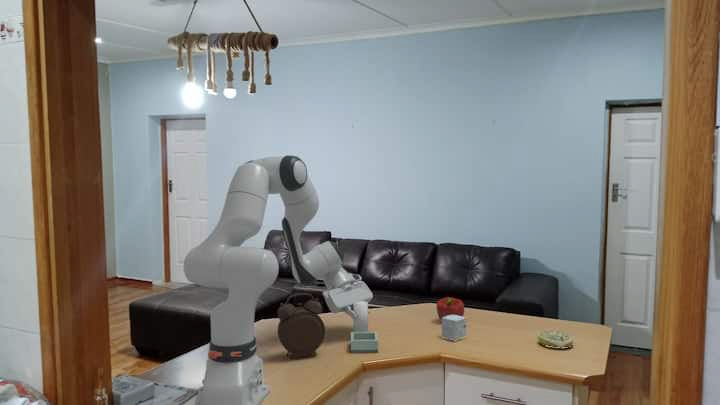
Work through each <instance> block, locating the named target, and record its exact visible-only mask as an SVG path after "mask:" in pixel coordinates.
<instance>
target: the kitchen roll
mask: <svg viewBox="0 0 720 405" xmlns="http://www.w3.org/2000/svg"><path fill="white" fill-rule="evenodd" d="M368 310H369V302H365V301H359V302H356V303H353V308H352V311H353V312H354V313H355V312H356V313H357V315H358V318H357V319H355V320H353V319H352V320H353V322H352V323H353V329H352V330H353V332H369V314H368Z"/></svg>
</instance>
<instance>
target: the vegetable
mask: <svg viewBox="0 0 720 405" xmlns="http://www.w3.org/2000/svg"><path fill="white" fill-rule="evenodd" d="M436 313H437V316H438V319H439V320H440V321H441V322H442V317H445V316H448V315H452V314H454V315H458V316H462V317H464V315H465V305H464V302H463V301H462V300H460V299H459V298H455V297H450V296H446V297H444V298H440V299H439V300H438V301H437V303H436Z"/></svg>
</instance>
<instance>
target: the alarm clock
mask: <svg viewBox="0 0 720 405" xmlns="http://www.w3.org/2000/svg"><path fill="white" fill-rule="evenodd" d="M299 296H309V297H311V299H309V300H307V301H306V302H305V303H304V305H303V302H297V306H299V307H295V306H294V304H292V303H289V302H290V300H291V299H292V298H295V297H299ZM322 311H323V307H322V303H321V302H320V301H319V298H318V297H316V298H315V297H314V296H313V294H311V293H307V292H301V293H293V294H291V295H289V296H288V297H287V299H286V301H285V303H283V302H281V303H280V306H279V307H278V309H277V311H276V312H277V317H278V320H279V323H278V325H277V336H278V339H279V341H280V343H281V345H282V347H283V348H284V350H286V351H287V353H286V354H285V356H286V357H289V354H290V357H289V359H293V357H294V356H299V357H303V356H304V357H305V356H308V355H310V354H312V353H314V355H315V356H317V354H318V353H317V352H316V351H317V350H318V349H319V348H320V347H321V346H322V344H323V342H324V339H325V335H326V326H325V323H324V321H323V319H322V318H321V317H320V315H321V314H322Z"/></svg>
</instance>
